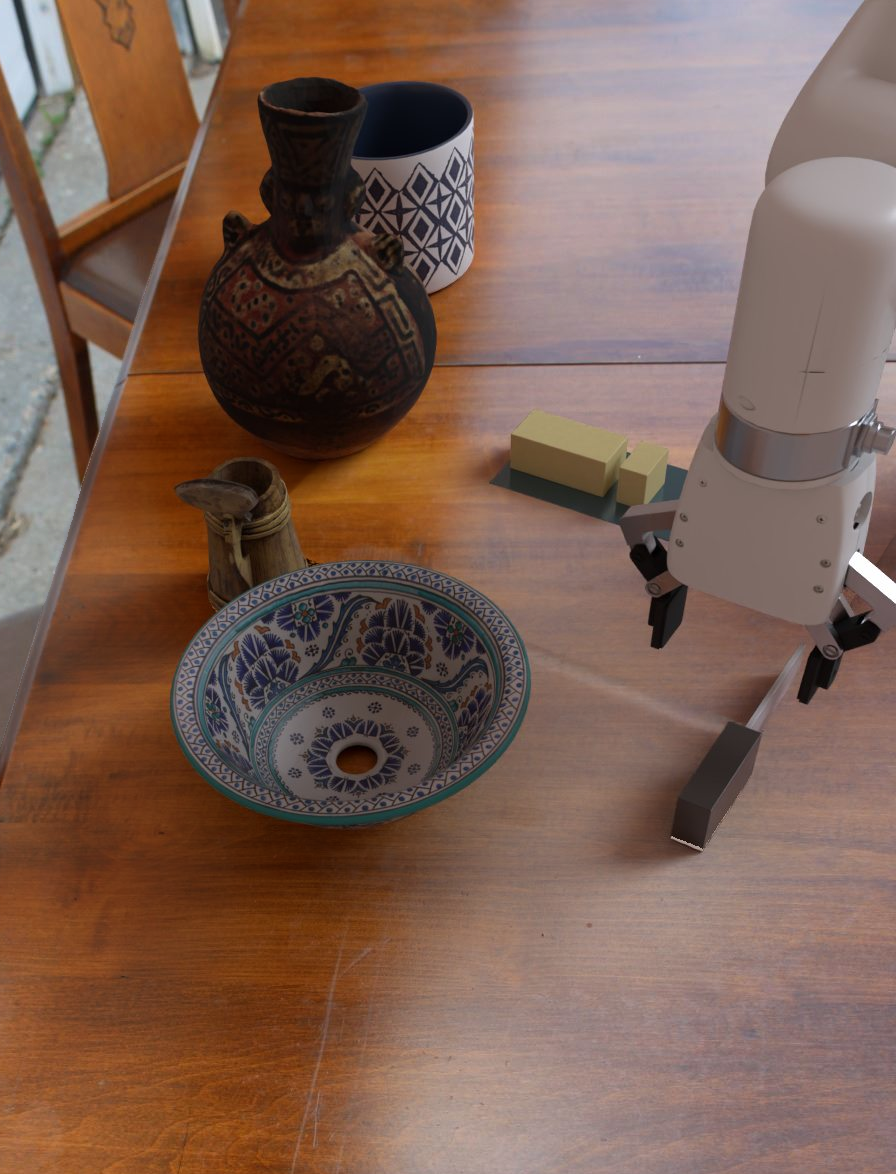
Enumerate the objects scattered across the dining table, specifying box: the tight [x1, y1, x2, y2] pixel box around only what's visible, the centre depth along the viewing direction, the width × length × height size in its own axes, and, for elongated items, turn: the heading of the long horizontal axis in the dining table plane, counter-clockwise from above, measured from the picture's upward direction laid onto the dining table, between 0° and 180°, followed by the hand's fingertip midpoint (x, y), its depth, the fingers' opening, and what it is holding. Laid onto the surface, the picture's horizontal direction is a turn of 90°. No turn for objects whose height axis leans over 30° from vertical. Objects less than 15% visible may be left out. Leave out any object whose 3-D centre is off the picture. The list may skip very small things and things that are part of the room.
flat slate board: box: [489, 451, 689, 542], centre depth 114 cm, size 17×9×1 cm, turn 55°
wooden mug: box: [173, 456, 309, 611], centre depth 104 cm, size 9×14×18 cm, turn 169°
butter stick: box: [509, 408, 629, 497], centre depth 114 cm, size 9×4×4 cm, turn 55°
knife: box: [670, 642, 807, 849], centre depth 94 cm, size 18×2×4 cm, turn 145°
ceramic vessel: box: [197, 76, 438, 461], centre depth 111 cm, size 21×18×30 cm
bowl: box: [169, 559, 532, 830], centre depth 95 cm, size 25×25×10 cm
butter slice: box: [616, 440, 670, 506], centre depth 111 cm, size 2×4×4 cm, turn 145°
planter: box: [351, 80, 475, 295], centre depth 134 cm, size 16×16×14 cm
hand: (736, 661), depth 83 cm, fingers open, 9 cm apart
